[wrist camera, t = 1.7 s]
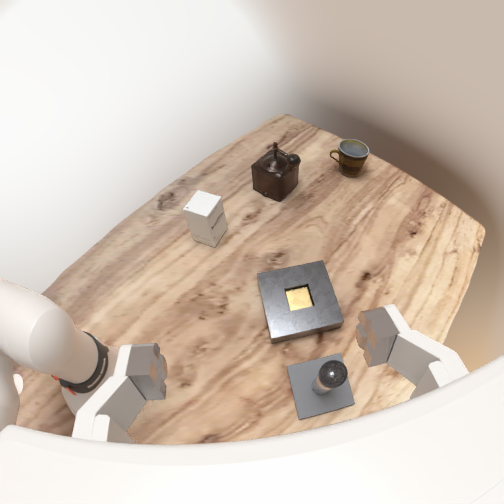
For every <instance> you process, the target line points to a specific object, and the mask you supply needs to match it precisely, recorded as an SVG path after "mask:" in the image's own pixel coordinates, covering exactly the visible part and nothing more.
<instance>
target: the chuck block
mask: <svg viewBox="0 0 504 504" xmlns="http://www.w3.org/2000/svg"><path fill="white" fill-rule="evenodd" d="M257 278H258V285H259V289H260V293H261V298H262V302H263V307H264V311H265V316H266V320H267V325H268V329H269V334H270V338H271V343H272V344H273V343H277V342H282V341H287V340H291V339H296V338H300V337H304V336H308V335H313V334H317V333H321V332H325V331H329V330H332V329H336V328H340V327H341V325H342V324H343V322H344V320H343V317H342V314H341V311H340V308H339V305H338V302H337V299H336V296H335V293H334V290H333V287H332V284H331V282H330V279H329V276H328V273H327V270H326V268H325V265H324V262H323V260H322V261H317V262H312V263H307V264H302V265H297V266H292V267H288V268H283V269H278V270H273V271H268V272H263V273H257ZM304 287H307V289H308V293H309V296H310V299H311V302H312V306H310V307H306V308H302V309H297V310H293V311H290V309H289V305H288V301H287V297H286V291H291V290H295V289H300V288H304Z"/></svg>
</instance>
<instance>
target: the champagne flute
mask: <svg viewBox="0 0 504 504" xmlns="http://www.w3.org/2000/svg"><path fill="white" fill-rule="evenodd" d="M13 377H14V383H15V386H16V388H17V391H18V394H20V393H21V392H22V389H23V380H22V378H21V376H20V375H19V374H14V375H13Z"/></svg>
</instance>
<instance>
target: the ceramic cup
mask: <svg viewBox="0 0 504 504" xmlns="http://www.w3.org/2000/svg"><path fill="white" fill-rule="evenodd" d="M338 149H339V151H338V150H332V151H331V152H330V157H331V158H333V159H335V158H334V157H332V156H331V154H332V153H334V152H336V153H338V154H339V161H338V160H337V159H335V160H336V161H337V162H338V163H339V165H340V171H341V173H342V174H343V175H345V176H347V177H357V175H358V174H359V173H360V171H361V168H362V166H363V164H364V162H365V161H366V159H367V157H368V154H369V148H368V147H367V146H366V145H365V144H364V143H362V142H360V141H358V140H354V139H345V140H342V141H341V142H340V143H339V145H338Z"/></svg>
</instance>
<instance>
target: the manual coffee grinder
mask: <svg viewBox="0 0 504 504" xmlns="http://www.w3.org/2000/svg"><path fill="white" fill-rule="evenodd" d="M277 145H278V144H277V142H274V143H273V150H270V151H269V152H267V153H266V154H265V155H264V156H263V157H261V158H260V159H259V160H258V161H256V162H255V163H254V164H253V165H252V166H251V169H252V179H253V189H254V190H256V191H258V192H259V193H261V194H263V195H264V196H267V197H269V198H272V199H274V200H277V201H281V200H283V199H284V198H285V197H286V196H287V195H288V194H289V193H290V192H291V191H292V190H293V189H294V188H295V187H296V185H297V184H298V171H299V164H300V162H301V160H300V158H299V156H298V155H296V154H290V155H288V154H287V153H285V152H283V151H282V150H280V149H279V148H278V146H277Z"/></svg>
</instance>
